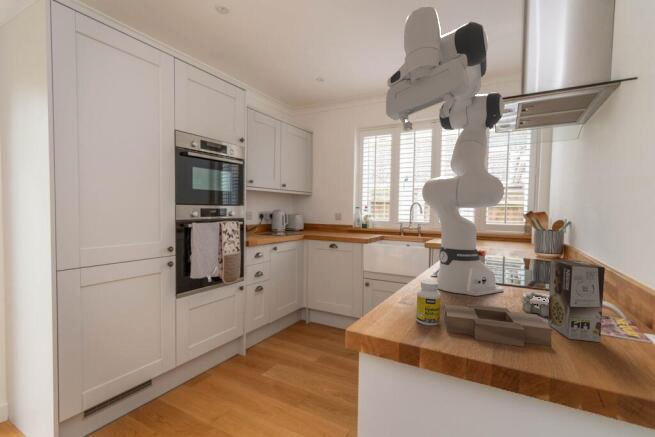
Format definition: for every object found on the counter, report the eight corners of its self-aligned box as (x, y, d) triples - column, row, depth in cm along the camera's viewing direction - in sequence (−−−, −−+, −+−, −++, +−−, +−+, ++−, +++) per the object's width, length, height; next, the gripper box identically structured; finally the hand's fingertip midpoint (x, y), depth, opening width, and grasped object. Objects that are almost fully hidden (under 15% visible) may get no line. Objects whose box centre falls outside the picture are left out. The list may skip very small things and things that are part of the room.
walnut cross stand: (443, 314, 80) (444, 301, 79) (532, 325, 73) (533, 311, 73) (447, 335, 66) (447, 319, 66) (555, 351, 60) (556, 333, 60)
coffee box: (602, 342, 65) (606, 267, 64) (567, 339, 66) (571, 265, 65) (576, 326, 74) (580, 260, 73) (546, 323, 75) (550, 258, 74)
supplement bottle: (423, 327, 71) (425, 285, 70) (412, 318, 76) (413, 279, 76) (444, 325, 72) (446, 284, 72) (431, 317, 77) (432, 279, 77)
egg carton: (550, 319, 79) (551, 303, 79) (517, 310, 85) (518, 296, 85) (562, 310, 86) (562, 296, 86) (531, 303, 92) (532, 290, 92)
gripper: (472, 56, 69) (476, 112, 67) (395, 92, 84) (396, 140, 82) (460, 42, 65) (464, 101, 63) (381, 82, 80) (382, 132, 77)
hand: (425, 123), depth 72 cm, fingers open, 8 cm apart
